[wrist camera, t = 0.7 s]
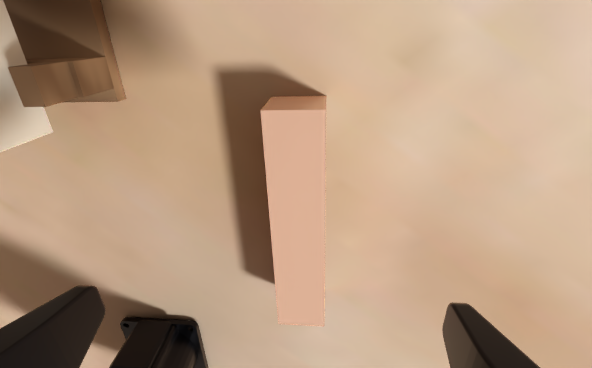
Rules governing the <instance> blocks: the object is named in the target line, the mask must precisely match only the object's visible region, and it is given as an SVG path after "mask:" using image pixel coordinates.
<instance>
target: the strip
mask: <svg viewBox="0 0 592 368" xmlns="http://www.w3.org/2000/svg"><path fill="white" fill-rule="evenodd" d="M19 65H27V62H26V59H25V56H24V54H23V51H22V48H21V46H20V43H19V40H18V38H17V35H16V33H15V30H14V27H13V25H12V22H11V19H10V17H9V14H8V11H7V9H6V6H5V4H4V1H3V0H0V152H3V151H5V150H8V149H11V148H13V147H16V146H18V145H21V144H24V143H26V142H29V141H31V140H34V139H37V138H39V137H42V136H44V135H47V134H50V133H52V132H53V130H52V128H51V125H50V122H49V120H48V117H47V114H46V112H45V109H44V107H24V106H23V104H22V101H21V99H20V96H19V94H18V91H17V89H16V87H15V84H14V82H13V79H12V77H11V74H10V72H9V69H8V67H11V66H19Z"/></svg>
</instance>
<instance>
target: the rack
mask: <svg viewBox="0 0 592 368" xmlns="http://www.w3.org/2000/svg"><path fill="white" fill-rule="evenodd" d="M3 1H4V4H5V6H6V9H7V11H8V14H9V17H10V19H11V22H12V25H13V27H14V30H15V33H16V35H17V38H18V40H19V43H20V46H21V48H22V51H23V54H24V56H25V59H26V62H27V65H19V66H11V67H8V69H9V72H10V74H11V77H12V79H13V82H14V84H15V87H16V89H17V91H18V94H19V96H20V99H21V101H22V104H23V106H24V107H47V106H50V105H54V104H57V103H61V102H118V101H121V100H124V99H126V97H125V93H124V89H123V85H122V82H121V78H120V74H119V70H118V66H117V62H116V59H115V55H114V51H113V47H112V43H111V40H110V36H109V32H108V28H107V24H106V20H105V17H104V13H103V9H102V5H101V1H100V0H3Z"/></svg>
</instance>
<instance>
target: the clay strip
mask: <svg viewBox="0 0 592 368" xmlns="http://www.w3.org/2000/svg"><path fill="white" fill-rule="evenodd" d="M260 111H261V123H262V135H263V147H264V158H265V170H266V182H267V194H268V206H269V218H270V230H271V242H272V254H273V266H274V277H275V289H276V301H277V313H278V324H288V325H307V326H324V318H325V204H326V96H280V97H271V98H270V99H269V101H268V102H267V103H266V104H265V105H264V107H263V108H262V109H261V110H260Z"/></svg>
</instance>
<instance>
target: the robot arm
mask: <svg viewBox="0 0 592 368" xmlns="http://www.w3.org/2000/svg"><path fill="white" fill-rule="evenodd" d="M104 315H105V306H104V304H103V301H102V299H101V296H100V294H99V292H98V289H97V288H96V287H95V286H88V285H79V286H76V287H74V288H73V289H71V290H69V291H67V292H65V293H64V294H62V295H60V296H58V297H56V298H55V299H53V300H51V301H49V302H47V303H46V304H44V305H42V306H40V307H38V308H37V309H35V310H33V311H31V312H29V313H28V314H26V315H24V316H22V317H20V318H18V319H17V320H15V321H13V322H11V323H9V324H8V325H6V326H4V327H2V328H0V368H79V367H80V365H81V363H82V361H83V359H84V357H85V355H86V353H87V351H88V349H89V347H90V345H91V343H92V341H93V339H94V336H95V334H96V332H97V330H98V328H99V326H100V324H101V322H102V320H103V318H104ZM120 325H121V328H122V330H123V333H124V335H125V338H126V341H125V343H124V345H123V346H122V348H121V349H120V351H119V352H118V354H117V356H116V357H115V359H114V360H113V362H112V363H111V365H110V367H109V368H208V364H207V360H206V356H205V351H204V347H203V343H202V339H201V334H200V330H199V326H198V324H197V323H196V322H194V321H188V320H170V319H151V318H133V317H125V318H124V319H123V320H122V322H121V323H120ZM443 338H444V342H445V346H446V351H447V355H448V359H449V364H450V368H540V367H539V366H538V365H537V364H535V363H534V362H533V361H532V360H531V359H530V358H529V357H528V356H526V355H525V354H524V353H523V352H522V351H521V350H520V349H519V348H518V347H516V346H515V345H514V344H513V343H512V342H511V341H510V340H509V339H507V338H506V337H505V336H504V335H503V334H502V333H501V332H500V331H498V330H497V329H496V328H495V327H494V326H493V325H492V324H491V323H490V322H488V321H487V320H486V319H485V318H484V317H483V316H482V315H481V314H479V313H478V312H477V311H476V310H475V309H474V308H473V307H472V306H470V305H469V304H466V303H450V304H449V305H448V307H447V311H446V315H445V319H444V323H443Z"/></svg>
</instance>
